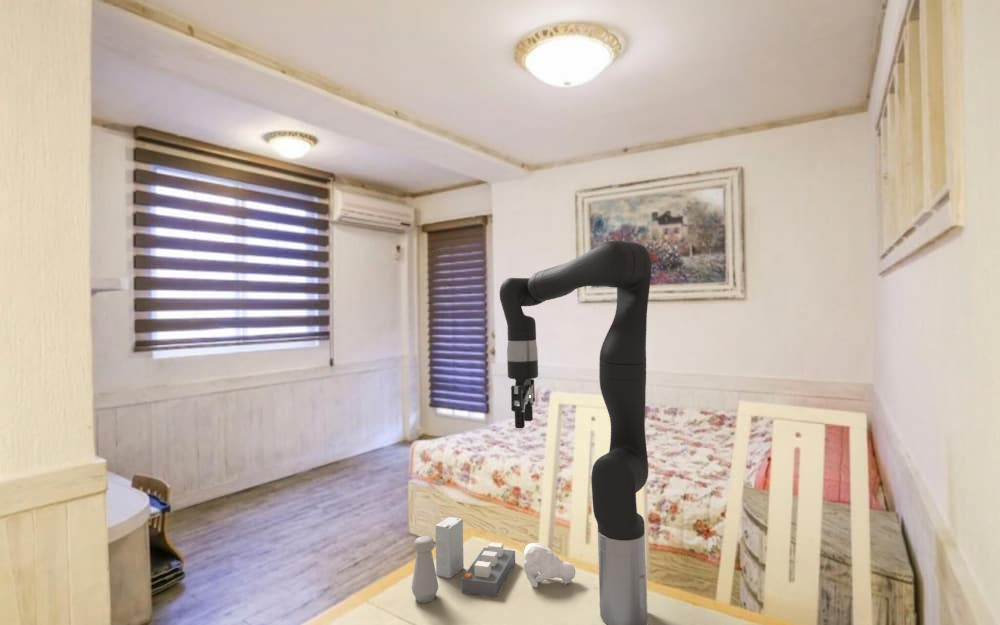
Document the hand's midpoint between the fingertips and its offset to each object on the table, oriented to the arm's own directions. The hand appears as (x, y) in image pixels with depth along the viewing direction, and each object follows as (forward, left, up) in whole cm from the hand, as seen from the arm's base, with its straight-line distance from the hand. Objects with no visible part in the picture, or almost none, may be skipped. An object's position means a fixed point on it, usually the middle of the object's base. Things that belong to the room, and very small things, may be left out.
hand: (524, 424), depth 129 cm
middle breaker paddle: (+7, +9, -31) cm, 33 cm away
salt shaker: (+18, +21, -34) cm, 44 cm away
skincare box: (+17, +9, -34) cm, 39 cm away
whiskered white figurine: (-7, +8, -34) cm, 36 cm away
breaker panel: (+7, +9, -34) cm, 36 cm away
